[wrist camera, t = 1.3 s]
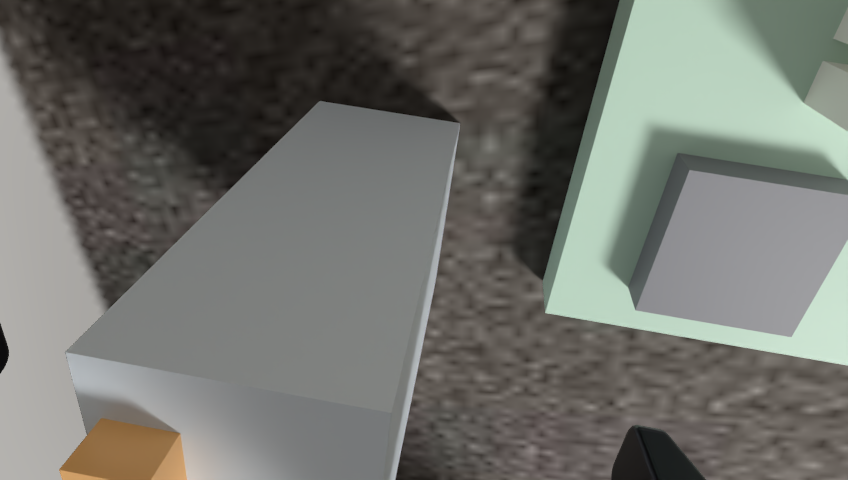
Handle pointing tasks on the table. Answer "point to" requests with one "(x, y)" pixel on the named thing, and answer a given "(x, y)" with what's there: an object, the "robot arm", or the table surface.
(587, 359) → the table surface
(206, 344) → the plug
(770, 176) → the board
